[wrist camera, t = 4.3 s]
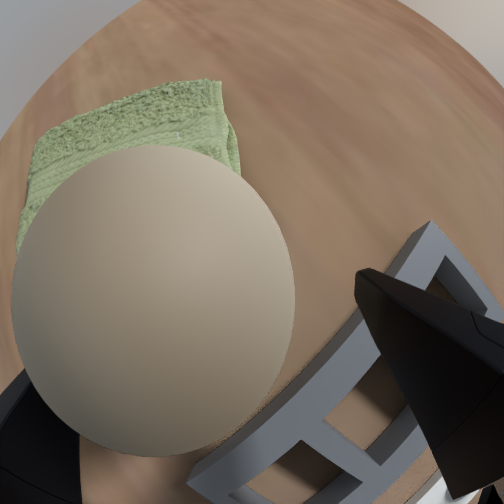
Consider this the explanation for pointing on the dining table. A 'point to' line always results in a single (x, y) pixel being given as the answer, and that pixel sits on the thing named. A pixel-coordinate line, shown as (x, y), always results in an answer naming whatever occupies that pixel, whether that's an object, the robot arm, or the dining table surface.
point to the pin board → (334, 390)
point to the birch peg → (153, 301)
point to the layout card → (437, 493)
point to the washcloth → (131, 135)
